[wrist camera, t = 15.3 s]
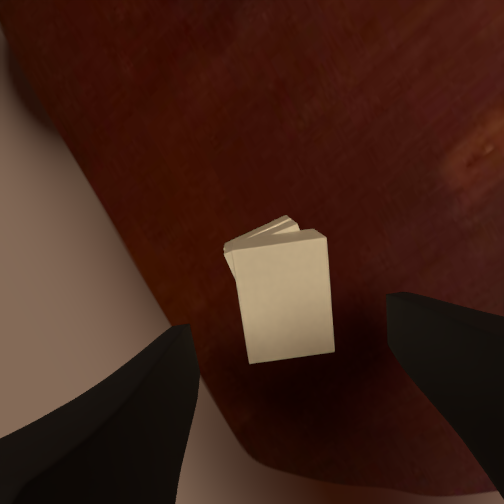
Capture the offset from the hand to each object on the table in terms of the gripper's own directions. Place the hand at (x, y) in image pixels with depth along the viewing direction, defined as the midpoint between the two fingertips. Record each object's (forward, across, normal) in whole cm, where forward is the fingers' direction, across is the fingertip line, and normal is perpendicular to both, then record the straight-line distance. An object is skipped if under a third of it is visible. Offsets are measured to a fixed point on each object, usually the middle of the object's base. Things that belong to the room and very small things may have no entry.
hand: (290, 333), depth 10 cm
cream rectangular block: (+6, 0, 0) cm, 6 cm away
